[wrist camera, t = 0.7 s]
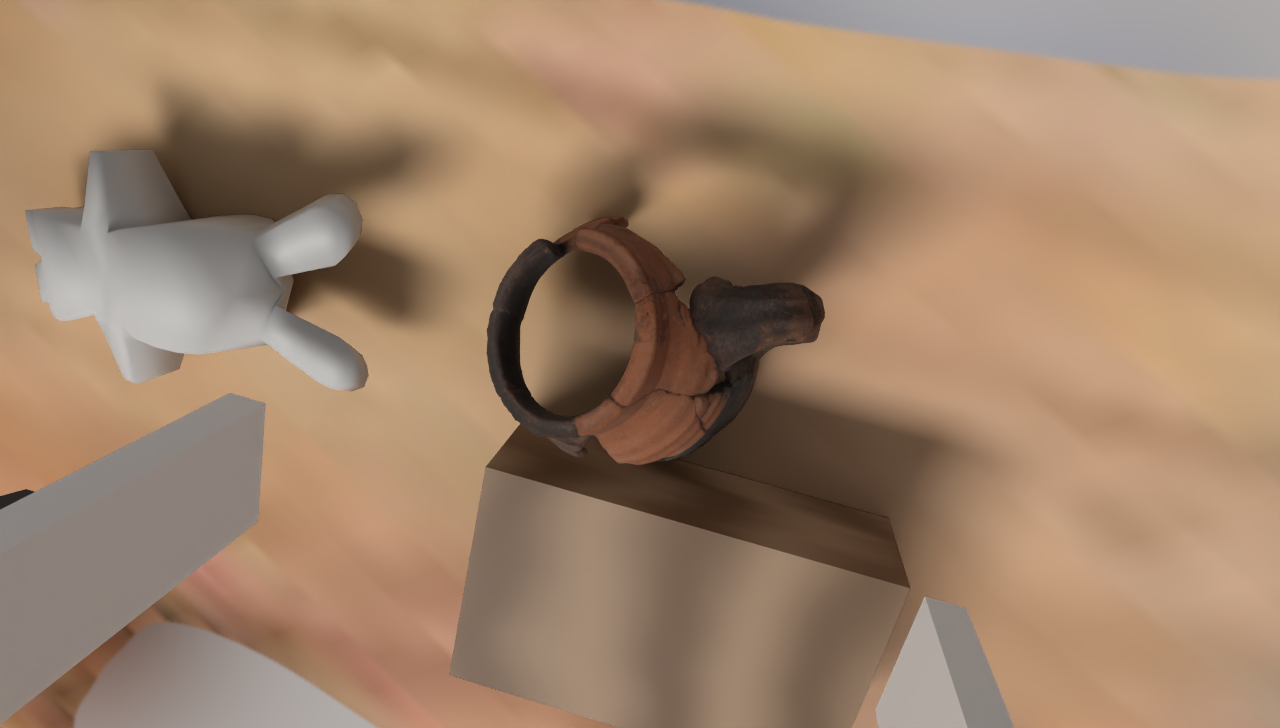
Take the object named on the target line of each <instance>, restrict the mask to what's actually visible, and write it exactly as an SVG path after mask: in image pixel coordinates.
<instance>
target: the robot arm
mask: <svg viewBox="0 0 1280 728" xmlns="http://www.w3.org/2000/svg"><path fill="white" fill-rule="evenodd" d="M265 404H266V403H263V402H259V401H256V400H252V399H249V398H245V397H242V396H239V395H235V394H232V393H229V394H227V395H225V396H223V397H221V398H219V399H217V400H215V401H213V402H211V403H209V404H207V405H205V406H203V407H201V408H199V409H197V410H195V411H193V412H191V413H189V414H188V415H186V416H184V417H182V418H180V419H178V420H176V421H174V422H172V423H170V424H168V425H166V426H164V427H162V428H160V429H158V430H156V431H154V432H152V433H150V434H148V435H146V436H144V437H142V438H140V439H138V440H136V441H134V442H132V443H130V444H129V445H127V446H125V447H123V448H121V449H119V450H117V451H115V452H113V453H111V454H109V455H107V456H105V457H103V458H101V459H99V460H97V461H95V462H93V463H91V464H89V465H87V466H85V467H83V468H81V469H79V470H77V471H75V472H73V473H71V474H70V475H68V476H66V477H64V478H62V479H60V480H58V481H56V482H54V483H52V484H50V485H48V486H46V487H44V488H42V489H40V490H38V491H36V492H34V491H30V490H27V489H25V490H21V491H18V492H14V493H10V494H7V495H3V496H0V724H1V723H3V722H4V721H5V720H6V719H8V718H9V717H10V716H11V715H13V714H14V713H15V712H16V711H18V710H19V709H20V708H22V707H23V706H24V705H25V704H27V703H28V702H29V701H30V700H32V699H33V698H34V697H36V696H37V695H38V694H39V693H41V692H42V691H43V690H44V689H46V688H47V687H48V686H50V685H51V684H52V683H53V682H55V681H56V680H57V679H58V678H60V677H61V676H62V675H63V674H65V673H66V672H67V671H69V670H70V669H71V668H72V667H74V666H75V665H76V664H77V663H79V662H80V661H81V660H83V659H84V658H85V657H86V656H88V655H89V654H90V653H91V652H93V651H94V650H95V649H97V648H98V647H99V646H100V645H102V644H103V643H104V642H105V641H107V640H108V639H109V638H110V637H112V636H113V635H114V634H116V633H117V632H118V631H119V630H121V629H122V628H123V627H124V626H126V625H127V624H128V623H130V622H131V621H132V620H133V619H135V618H136V617H137V616H138V615H140V614H141V613H142V612H144V611H145V610H146V609H147V608H149V607H150V606H151V605H152V604H154V603H155V602H156V601H157V600H159V599H160V598H161V597H163V596H164V595H165V594H166V593H168V592H169V591H170V590H171V589H173V588H174V587H175V586H177V585H178V584H179V583H180V582H182V581H183V580H184V579H185V578H187V577H188V576H189V575H191V574H192V573H193V572H194V571H196V570H197V569H198V568H199V567H201V566H202V565H203V564H204V563H206V562H207V561H208V560H210V559H211V558H212V557H213V556H215V555H216V554H217V553H218V552H220V551H221V550H222V549H224V548H225V547H226V546H227V545H229V544H230V543H231V542H232V541H234V540H235V539H236V538H238V537H239V536H240V535H241V534H243V533H244V532H245V531H246V530H248V529H249V528H250V527H251V526H253V525H254V524H255V523H257V522H258V514H259V498H260V482H261V467H262V451H263V436H264V420H265ZM875 712H876V718H877V723H878V728H1014V726H1013V723H1012V721H1011V718H1010V716H1009V713H1008V711H1007V708H1006V706H1005V703H1004V701H1003V698H1002V696H1001V693H1000V691H999V688H998V686H997V683H996V681H995V678H994V676H993V673H992V671H991V669H990V666H989V664H988V661H987V659H986V656H985V654H984V651H983V649H982V646H981V644H980V641H979V639H978V636H977V634H976V631H975V629H974V626H973V624H972V621H971V619H970V616H969V614H968V611H967V609H966V608H963V607H960V606H957V605H953V604H950V603H946V602H943V601H939V600H936V599H933V598H929V597H926V596H925V597H924V599H923V602H922V604H921V606H920V608H919V611H918V613H917V615H916V618H915V620H914V622H913V625H912V627H911V629H910V631H909V634H908V636H907V638H906V641H905V643H904V645H903V648H902V650H901V652H900V654H899V657H898V659H897V661H896V664H895V666H894V668H893V671H892V673H891V675H890V677H889V680H888V682H887V684H886V687H885V689H884V691H883V694H882V696H881V698H880V700H879V703H878V705H877V707H876V710H875Z"/></svg>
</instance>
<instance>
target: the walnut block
mask: <svg viewBox="0 0 1280 728" xmlns="http://www.w3.org/2000/svg"><path fill="white" fill-rule="evenodd" d="M584 448H586V449H587V451H588V455H587V456H585V457H580V458H579V457H575V456H572V455H571V454H569V453H567V452H565V451H563V450H561V449H560V448H559V447H558V446H557V445H556V444H554V443H553V442H552V441H550V440H549V439H548V438H547V437H544V436H542V437H537V436H535V435H534V434H533V433H532V432H530V431H529V430H527V429H526V428H525V427H523V425H522V424H520V425H519V426H518V427H517V429H516V430H515V431H514V432H513V434H512V435H511V436H510V437H509V439H508V440H507V441H506V442H505V444H504V445H503V446H502V447H501V449H500V450H499V451H498V452H497V454H496V455H495V456H494V457H493V459H492V460H491V461H490V462H489V464H488V465H487V466H486V468H485V474H484V480H483V486H482V491H481V497H480V503H479V508H478V514H477V520H476V525H475V531H474V537H473V543H472V548H471V554H470V560H469V565H468V571H467V577H466V582H465V588H464V594H463V600H462V605H461V611H460V617H459V622H458V628H457V634H456V639H455V645H454V651H453V657H452V662H451V668H450V674H449V675H450V676H453V677H457V678H460V679H463V680H466V681H469V682H473V683H476V684H479V685H482V686H486V687H489V688H492V689H495V690H499V691H502V692H505V693H508V694H511V695H515V696H518V697H521V698H524V699H528V700H531V701H534V702H537V703H541V704H544V705H547V706H550V707H553V708H557V709H560V710H563V711H566V712H570V713H573V714H576V715H579V716H583V717H586V718H589V719H592V720H596V721H599V722H602V723H605V724H608V725H612V726H615V727H618V728H852V726H853V724H854V722H855V719H856V717H857V714H858V712H859V710H860V707H861V705H862V703H863V700H864V698H865V695H866V693H867V691H868V688H869V686H870V683H871V681H872V679H873V676H874V674H875V672H876V669H877V667H878V664H879V662H880V660H881V657H882V655H883V652H884V650H885V648H886V645H887V643H888V641H889V638H890V636H891V633H892V631H893V629H894V626H895V624H896V621H897V619H898V617H899V614H900V612H901V610H902V607H903V605H904V602H905V600H906V598H907V595H908V593H909V590H910V586H909V582H908V579H907V576H906V573H905V569H904V566H903V563H902V560H901V556H900V553H899V550H898V547H897V543H896V540H895V537H894V534H893V530H892V527H891V524H890V521H889V518H885V517H882V516H878V515H875V514H871V513H867V512H864V511H860V510H857V509H853V508H850V507H846V506H842V505H839V504H835V503H832V502H828V501H824V500H821V499H817V498H814V497H810V496H807V495H803V494H799V493H796V492H792V491H789V490H785V489H782V488H778V487H774V486H771V485H767V484H764V483H760V482H757V481H753V480H749V479H746V478H742V477H739V476H735V475H731V474H728V473H724V472H721V471H717V470H714V469H710V468H706V467H703V466H699V465H696V464H692V463H689V462H685V461H681V460H678V459H672V460H669V461H666V460H663V461H654V462H651V463H646V464H642V465H635V464H630V463H621V464H620V463H617V462H616V461H615V460H614V459H613V458H612V457H611V456H610V455H609V454H608V453H607V451H606V449H604V448H603V447H602V446H601V444H600V442H599V440H598V438H596V437H595V436H592V437H591V438H590V439H589V440H588V441H587V442H586V444H585V446H584Z"/></svg>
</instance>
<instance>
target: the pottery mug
mask: <svg viewBox="0 0 1280 728" xmlns="http://www.w3.org/2000/svg"><path fill="white" fill-rule="evenodd" d="M628 225H629V223H628V220H627V219H624V218H623V217H621V216H617V217H612V218H611V217H604V218H600V219H596V220H593V221H590V222H588V223H585V224H583V225H581V226H579V227H578V228H575V229H574V230H573V231H571V232H569V233H567V234H566V235H564V236H563V237H561V238H559V239H558V240H557V241H555V242H554V243H552V242H550V241H549V240H545V239H538V240H536V241H534V242H533V243H532V244H531V245H530V246H529V247H528V248H526V249H525V250H524V251H523V252H522V253H521V254H520V255H519V256H518V258H517V260H516V261H515V262H514V263H513V265H512V266H511V267H510V268H509V269H508V271H507V273H506V274H505V276H504V278H503V279H502V282H501V283H500V285H499V288H498V290H497V293H496V297H495V300H494V302H493V311H492V312H491V314H490V319H489V324H488V328H487V337H488V341H487V357H488V364H489V372H490V374H491V378H492V382H493V384H494V387H495V390H496V393H497V394H498V395H499V397H501V400H502V402H503V404H504V405H505V406H506V408H507V409H508V411H509V412H510V413H511V414H512V416H513V417H514V418H515V420H516V421H518V422H520V423H521V424H522V425H523V427H525V428H526V429H527V430H529V431H530V432H532V433H533V434H534V435H535V436H537V437H542V436H544V437H547V438H548V439H549V440H550V441H552V442H553V443H554V444H556V445H557V446H558V447H559V448H560V449H561V450H563V451H565V452H567V453H569V454H571V455H572V456H575V457H579V458H580V457H585V456H587V455H588V451H587V449H586V448H584V446H585V444H586V442H587V441H588V440H589V439H590V438H591V437H592V436H593V435H594V436H595V437H596V438H598V440H599V442H600V444H601V446H602V447H603V448H604V449H606V451H607V453H608V454H609V455H610V456H611V457H612V458H613V459H614V460H615V461H616V462H617V463H620V464H621V463H630V464H635V465H642V464H646V463H651V462H654V461H663V460H666V461H669V460H672V459H675V458H677V457H681V456H684V455H686V454H689V453H691V452H692V451H694V450H696V449H697V448H699V447H701V446H703V445H704V444H705V443H707V442H708V441H709V440H710V439H711V438H712V437H713V436H714V435H716V434H717V433H718V432H719V431H720V430H722V429H723V428H724V427H725V426H726V425H728V424H729V423H730V422H731V421H732V420H733V419H734V418H735V417H736V415H737V414H738V413H739V412H740V410H741V409H742V408H743V406H744V404H745V403H746V401H747V399H748V397H749V396H750V393H751V391H752V388H753V385H754V380H755V377H756V371H757V366H758V360H759V359H760V358H761V357H762V356H763V355H764V354H765V353H766V352H768V351H769V350H771V349H772V348H774V347H777V346H782V345H794V344H801V343H810V342H814V341H815V340H816V339H817V338H818V334H819V331H820V326H821V323H822V321H823V320H824V317H825V311H824V307H823V302H822V299H821V298H820V296H818V295H817V294H815V293H814V292H812V291H811V290H809V289H808V288H807V287H805V286H803V285H800V284H795V283H773V284H765V285H753V286H746V287H742V286H733V285H732V283H731V282H730V281H727V280H724V279H721V278H720V277H711V278H709V279H707V280H706V281H705V282H704V283H702V284H699V285H698V286H697V287H696V288H695V289H694V290H693V292H692V295H691V298H690V309H688V308H686V306H685V305H684V304H683V303H682V302H680V301H679V299H678V298H677V296H676V295H675V293H674V292H675V290H677V289H678V287H681V286H682V285H683V283H684V282H685V277H684V275H683V274H682V273H681V271H680V270H679V269H677V268H676V266H675V265H674V264H673V263H672V262H671V261H670V260H669V259H668V258H667V257H665V256H664V255H663V254H662V252H661V251H660V250H659V249H658V248H657V247H656V246H654V245H653V244H651V243H649V242H648V241H646V240H645V239H643V238H641V237H640V236H638V235H637V234H635V233H634V232H632V231H631V230H629V229H626V227H628ZM578 249H580V250H582V251H585V252H589V253H593V254H597V255H599V256H601V257H603V258H605V259H606V260H608V261H609V262H610V263H611V264H612V265H613V266H614V267H615V268H616V269H617V271H618V272H619V273H620V274H621V276H622V278H623V279H624V281H625V283H626V285H627V288H628V290H629V292H630V294H631V297H632V299H633V302H634V303H635V317H636V328H635V337H634V344H633V349H632V352H631V357H630V359H629V363H628V365H627V368H626V370H625V372H624V374H623V376H622V378H621V380H620V381H619V383H618V385H617V386H616V387H615V389H614V390H613V391H612V393H611V395H610V396H608V397H607V398H606V399H605V400H604V401H602V402H601V403H600V404H599V405H598V406H596V407H595V408H593V409H591V410H589V411H587V412H585V413H582V414H579V415H577V416H572V417H563V416H558V415H555V414H553V413H551V412H549V411H547V410H545V409H544V408H543V407H542V406H540V405H539V404H538V403H537V402H536V401H535V399H534V398H533V397H532V396H531V393H530V391H529V390H528V388H527V386H526V384H525V382H524V379H523V375H522V370H521V366H520V326H521V322H522V320H523V318H524V315H525V311H526V309H527V305H528V302H529V299H530V297H531V294H532V292H533V289H534V287H535V285H536V284H537V282H538V280H539V279H540V277H541V276H542V275H543V274H544V273H545V271H546V270H547V269H548V268H549V267H550V266H551V265H552V264H554V263H555V262H556V261H557V260H559V259H560V258H562V257H563V256H565V255H566V254H567V253H569V252H571V251H575V250H578ZM722 371H723V372H725V374H726V378H725V380H724V382H721V383H719V384H718V385H715V384H716V382H717V381H718V378H719V375H720V373H721V372H722Z"/></svg>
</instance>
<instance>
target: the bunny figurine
mask: <svg viewBox="0 0 1280 728" xmlns="http://www.w3.org/2000/svg"><path fill="white" fill-rule="evenodd" d="M25 211H26V217H27V223H28V228H29V234H30V239H31V245H32V249H33V250H34V251H36V252H37V253H38V254H40V255H41V260H42V261H40V262H39V263H37V264H36V265H35V267H36V273H37V278H38V284H39V289H40V295H41V300H42V302H47V303H49V306H50V311H51V314H52V315H53V316H54V317H55V318H56V319H57V320H75V319H79V318H83V317H87V316H91V315H94V316H95V318H96V320H97V322H98V324H99V325H100V327H101V329H102V331H103V333H104V335H105V337H106V339H107V342H108V344H109V346H110V348H111V351H112V353H113V355H114V357H115V360H116V362H117V364H118V366H119V369H120V371H121V373H122V375H123V378H124V379H126V380H128V381H131V382H133V383H135V384H138V383H141V382H144V381H147V380H150V379H153V378H155V377H158V376H161V375H164V374H167V373H170V372H172V371H175V370H178V369H179V368H180V365H181V362H182V359H183V356H184V353H186V354H199V355H202V354H209V353H215V352H222V351H229V350H236V349H243V348H249V347H256V346H263V345H269V346H270V347H272V348H273V349H274V350H276V351H277V352H278V353H280V354H281V355H282V356H284V357H285V358H286V359H287V360H289V361H290V362H291V363H293V364H294V365H296V366H297V367H298V368H300V369H301V370H302V371H304V372H305V373H306V374H308V375H309V376H310V377H312V378H313V379H314V380H316V381H317V382H318V383H321V384H323V385H325V386H327V387H329V388H331V389H335V390H345V391H354V390H357V389H359V388H362V387H364V385H365V383H366V380H367V378H368V375H369V374H368V369H367V365H366V362H365V360H364V358H363V356H362V354H360V353H359V352H358V351H357V350H355V349H354V348H353V347H352V346H350V345H349V344H348V343H346V342H345V341H344V340H342V339H341V338H339V337H338V336H336V335H334V334H332V333H330V332H328V331H326V330H324V329H322V328H320V327H318V326H316V325H314V324H312V323H310V322H308V321H306V320H304V319H302V318H300V317H298V316H296V315H293V314H291V313H289V312H287V311H286V308H287V304H288V300H289V297H290V293H291V289H292V286H293V282H294V280H293V277H292V274H296V273H301V272H306V271H311V270H316V269H321V268H326V267H331V266H335V265H336V264H338V263H339V262H340V261H341V260H342V259H343V258H344V257H345V256H346V255H347V253H348V252H349V251H350V250H351V249H352V247H353V246H354V245H355V244H356V243H357V241H358V239H359V236H360V234H361V231H362V222H363V219H362V216H361V214H360V211H359V209H358V206H357V204H356V203H355V202H354V201H353V200H351V199H350V198H348V197H347V196H346V195H344V194H328V195H325V196H323V197H321V198H319V199H317V200H316V201H314V202H312V203H310V204H308V205H306V206H304V207H302V208H301V209H299V210H297V211H295V212H293V213H291V214H289V215H287V216H286V217H284V218H282V219H280V220H278V221H276V222H274V220H273V219H270V218H266V217H261V216H257V215H226V216H215V217H208V218H200V219H193V220H191V218H190V216H189V215H188V213H187V211H186V210H185V208H184V206H183V205H182V203H181V201H180V200H179V198H178V196H177V194H176V192H175V190H174V189H173V187H172V185H171V183H170V181H169V179H168V178H167V176H166V174H165V172H164V170H163V169H162V167H161V165H160V163H159V161H158V159H157V158H156V156H155V154H154V152H153V150H114V151H90V156H89V166H88V175H87V185H86V195H85V204H84V207H77V208H68V207H55V208H45V209H35V210H25Z"/></svg>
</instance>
